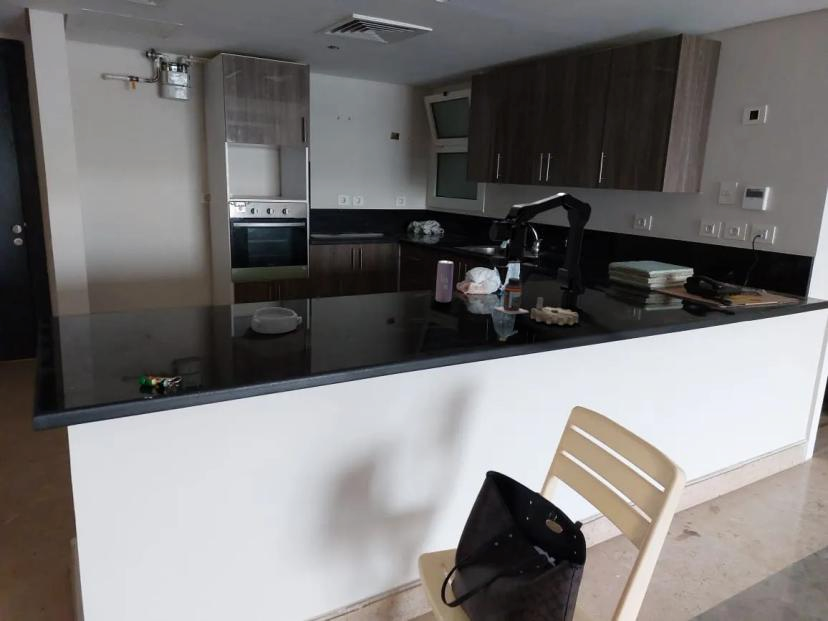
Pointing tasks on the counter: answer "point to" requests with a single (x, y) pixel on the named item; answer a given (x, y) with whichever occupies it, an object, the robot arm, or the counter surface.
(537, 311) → the sprocket
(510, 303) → the supplement bottle
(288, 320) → the dish
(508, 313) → the pad
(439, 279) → the beverage can
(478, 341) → the counter surface
